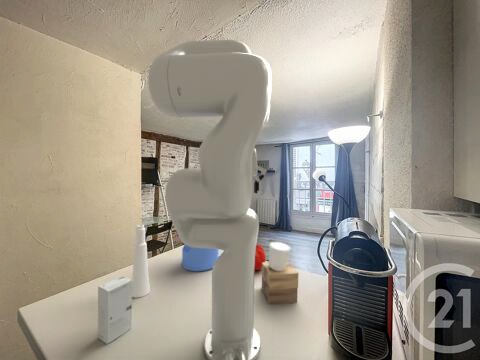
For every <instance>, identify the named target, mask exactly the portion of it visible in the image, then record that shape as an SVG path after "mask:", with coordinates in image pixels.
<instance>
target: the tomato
mask: <svg viewBox="0 0 480 360" xmlns="http://www.w3.org/2000/svg"><path fill="white" fill-rule="evenodd" d="M263 262H266V254H265V249H264V247H263V246H262V245H261V244H256V251H255V267H254V271H259V270H262V263H263Z"/></svg>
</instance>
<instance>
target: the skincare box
mask: <svg viewBox="0 0 480 360" xmlns="http://www.w3.org/2000/svg"><path fill="white" fill-rule="evenodd" d="M132 298H133V297H132V279H130V278H127V277H124V276H120V277H118V278H115V279H113V280H110V281H108V282H105V283H104V284H101V285H99V286H97V338H98V339H99V340H101V341H102V342H103V343H105V344H106V345H108V344H110V343H112V342H113V341H115V340H116V339H118V338H119V337H121V336H122V335H124V334H125V333H127V332H128V331H130V330H131V328H132V326H133V325H132V324H133V323H132V322H133V321H132V320H133V318H132V317H133V316H132V315H133V313H132V311H133V309H132V308H133V307H132V306H133V305H132V304H133V303H132V302H133V301H132V300H133V299H132Z"/></svg>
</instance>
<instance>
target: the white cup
mask: <svg viewBox="0 0 480 360" xmlns="http://www.w3.org/2000/svg"><path fill="white" fill-rule="evenodd" d="M268 247H269V249H268V262H269V267H270V268H271V269H273V270H276V271H284V270H286V267H287V263H289V259H290V254H291V250H292V247H291V246H290V245H289V244H287V243H284V242H283V241H282V242H281V241H272V242H270V243H269V246H268Z"/></svg>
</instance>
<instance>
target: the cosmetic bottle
mask: <svg viewBox="0 0 480 360" xmlns="http://www.w3.org/2000/svg"><path fill="white" fill-rule="evenodd" d="M133 245H134V246H133V257H132V259H133V260H132V279H131V280H132V298H134V299H135V298H136V299H138V298H142V297H145V296H147V295H148V294H150V292H151V291H152V290H151V286H150V285H151V284H150V279H149V277H150V276H149V265H148V264H149V263H148V247H147V246H148V244H147V242H146V228H145V224H138V225H136V228H135V243H134V244H133Z"/></svg>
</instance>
